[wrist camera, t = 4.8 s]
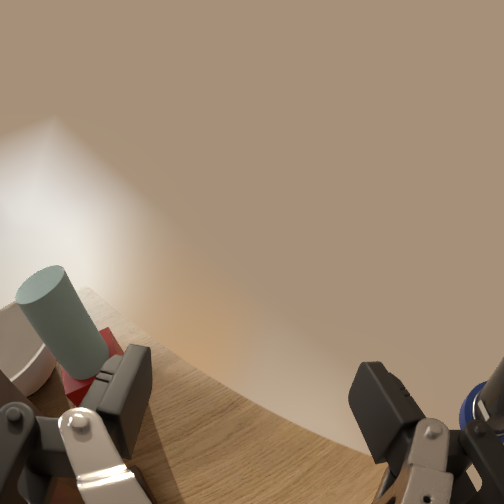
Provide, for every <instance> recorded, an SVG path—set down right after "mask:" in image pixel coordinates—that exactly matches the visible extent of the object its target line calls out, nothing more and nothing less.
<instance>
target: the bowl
mask: <svg viewBox="0 0 504 504" xmlns="http://www.w3.org/2000/svg"><path fill="white" fill-rule="evenodd" d="M56 361H57V360H56V358H55V357H54V356H53V355H52V353H51V352H50V351H49V349H48V348H47V347H46V345H45V344H44V343H43V341H42V340H41V338H40V337H39V336H38V334H37V333H36V331H35V330H34V328H33V327H32V326H31V324H30V323H29V321H28V320H27V318H26V316H25V315H24V313H23V312H22V310H21V309H20V307H19V305H18V304H17V302H16V301H14V302H13V303H10V304H9V305H7V306H5V307H4V308H2V309H1V310H0V370H1V371H2V372H3V373H4V374H5V375H6V376H7V378H8V379H9V380H10V381H11V382H12V383H13V384H14V385H15V386H16V387H17V388H18V389H19V390H20V391H21V393H22V394H23V395H24V396H25V397H27V396H29V395H31V394H33V393H34V392H36V391H37V390H38V389H39V388H40V387H42V385H43V384H44V383H45V382H46V381H47V379H48V378H49V377H50V375H51V373H52V371H53V369H54V367H55V364H56Z"/></svg>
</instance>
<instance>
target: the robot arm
mask: <svg viewBox="0 0 504 504" xmlns="http://www.w3.org/2000/svg"><path fill="white" fill-rule="evenodd" d="M151 391H152V365H151V350H150V347H145V346H140V345H134V344H129V346H128V347H127V349H126V351H125V353H124V355H123V356H121V355H116V354H115V355H114V356H112V357H111V358H109V359H108V360H106V361H105V363H104V364H103V366H102V368H101V369H100V372H99V373H98V374H97V376H96V379H95V380H94V381H93V383H92V385H91V387H90V388H89V390H88V392H87V394H86V395H85V397H84V399H83V401H82V403H81V404H80V406H79V407H78V408H72V409H69V410H67V411H66V412H64V413H63V414H62V415H61V417H60V418H52V417H40V416H35V414H34V412H33V410H32V409H31V407H29V406H28V405H27V404H25V403H22V402H11V403H8V404H5V405H4V406H3V407H1V408H0V504H51V501H52V497H53V494H54V491H55V488H56V485H57V482H58V479H59V477H64V478H77V486H78V489H79V491H80V493H81V496H82V498H83V500H84V502H85V504H152V503H151V501H150V500H149V498H148V497H147V495H146V494H145V492H144V491H143V489H142V488H141V486H140V485H139V483H138V481H137V480H136V478H135V477H134V475H133V473H132V472H131V471H130V469H127V467H126V466H125V464H124V462H123V461H122V459H121V457H122V458H126V459H130V460H131V457H132V454H133V450H134V447H135V443H136V440H137V437H138V433H139V430H140V427H141V423H142V420H143V417H144V414H145V411H146V408H147V404H148V401H149V398H150V395H151ZM348 399H349V400H348V401H349V405H350V408H351V410H352V412H353V414H354V417H355V419H356V421H357V423H358V425H359V428H360V430H361V432H362V434H363V437H364V438H365V441H366V443H367V446H368V448H369V450H370V452H371V455H372V457H373V459H374V461H375V464H379V463H384V462H388V465H389V466H388V467H387V468H386V470H385V472H384V475H383V477H382V480H381V483H380V485H379V488H378V490H377V492H376V495H375V497H374V499H373V502H372V504H504V445H503V443H502V442H501V441H500V439H499V438H498V437H500V436H503V435H504V357H503V359H502V361H501V362H500V364H499V365H498V367H497V368H496V370H495V371H494V373H493V374H492V376H491V377H490V379H489V380H488V381H487V382H486V384H485V385H484V387H483V388H482V389H481V390H480V391H479V393H478V394H477V395H476V397H475V398H474V400H473V403H472V407H471V415H472V420H470V421H469V422H468V423H467V424H466V426H465V427H464V429H463V430H449V429H448V427H447V426H446V425H445V424H444V423H443V422H441V421H439V420H437V419H434V418H426V417H425V415H424V414H423V412H422V411H421V409H420V408H419V406H418V405H417V404H416V402H415V401H414V399H413V398H412V396H410V393H409V392H408V391H407V390H405V387H404V385H403V384H402V382H401V381H400V380H399V379H398V378H397V377H395V376H394V375H393V374H391V373H388V371H387V370H386V368H385V367H384V366H383V364H382V363H381V362H362V363H361V364H360V366H359V368H358V371H357V373H356V376H355V378H354V381H353V383H352V386H351V388H350V391H349V396H348ZM472 463H473V465H474V467H475V468H476V470H477V471H478V473H479V475H480V477H481V479H482V486H481V489H480V490H479V491H478V492H477V491H476V489H475V487H474V485H473V483H472V482H471V480H470V478H469V476H468V474H467V473H466V470H467V469H468V468H469V467H470V466H471V465H472Z"/></svg>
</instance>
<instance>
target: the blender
mask: <svg viewBox="0 0 504 504" xmlns="http://www.w3.org/2000/svg"><path fill="white" fill-rule="evenodd" d="M15 299H16V302H17V304H18V305H19V307H20V309H21V310H22V312H23V313H24V315H25V316H26V318H27V320H28V321H29V323H30V324H31V326H32V327H33V328H34V330H35V331H36V333H37V334H38V336H39V337H40V338H41V340H42V341H43V343H44V344H45V345H46V347H47V348H48V349H49V351H50V352H51V353H52V355H53V356H54V357H55V358H56V360H57V361H58V362H59V364H60V365H61V372H62V378H63V385H64V390H65V395H66V396H67V397H68V398H69V399H70V400H71V401H72V402H73V403H74V404H75V405H76V406H77V407H79V406H80V404H81V403H82V401H83V399H84V397H85V395H86V394H87V392H88V390H89V388H90V387H91V385H92V383H93V381H94V380H95V379H96V376H97V374H98V373H99V372H100V369H101V368H102V366H103V364H104V363H105V361H106V360H108V359H109V358H111V357H112V356H114V355H115V354H116V355H121V356H123V355H124V352H123V350H122V349H121V347H120V345H119V344H118V342H117V341H116V339H115V337H114V336H113V334H112V332H111V331H110V329H109V327H107V328H105V329H103V330H101V331H98V330H97V328H96V326H95V325H94V323H93V321H92V320H91V318H90V316H89V314H88V313H87V311H86V309H85V308H84V306H83V304H82V302H81V300H80V299H79V297H78V295H77V293H76V291H75V289H74V287H73V285H72V284H71V282H70V280H69V278H68V276H67V274H66V272H65V270H64V268H63V267H62V266H58V265H56V266H50V267H47V268H44V269H42V270H40V271H38V272H37V273H35V274H33V275H32V276H31V277H29V278H28V279H27V280H26V281H25V282H24V283H23V284H22V285H21V286H20V288H19V289H18V291H17V293H16V296H15Z"/></svg>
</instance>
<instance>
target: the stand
mask: <svg viewBox="0 0 504 504" xmlns="http://www.w3.org/2000/svg"><path fill="white" fill-rule="evenodd" d="M11 402H22V403H25V404H27V405H28V406H29V407H31V409H32V410H33V412H34V414H35V416H40V417H46V416H45V415H44V414H43V413H42V412H41V411H40V410H39V409H38V408H37V407H36V406H35V405H34V404H33V403H31V402H30V401H29V400H28V399H27V398H26V397H25V396H24V395H23V394H22V393H21V391H20V390H19V389H18V388H17V387H16V386H15V385H14V384H13V383H12V382H11V381H10V380H9V379H8V378H7V376H6V375H5V374H4V373H3V372H2V371H1V370H0V408H1V407H3V406H4V405H5V404H8V403H11ZM128 469H130V471H131V472H132V473H133V475H134V477H135V478H136V480H137V481H138V483H139V485H140V486H141V488H142V489H143V491H144V492H145V494H146V495H147V497H148V498H149V500H150V501H151V503H152V504H158V503H157V501H156V500H155V498H154V496H153V494H152V492H151V491H150V489H149V487H148V485H147V483H146V481H145V479H144V477H143V475H142V473H141V471H140V469H139V468H138V467H137V466H133V467H130V468H128ZM51 504H85V502H84V500H83V498H82V496H81V493H80V491H79V489H78V486H77V478H64V477H59V479H58V482H57V485H56V488H55V491H54V494H53V497H52V501H51Z"/></svg>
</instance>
